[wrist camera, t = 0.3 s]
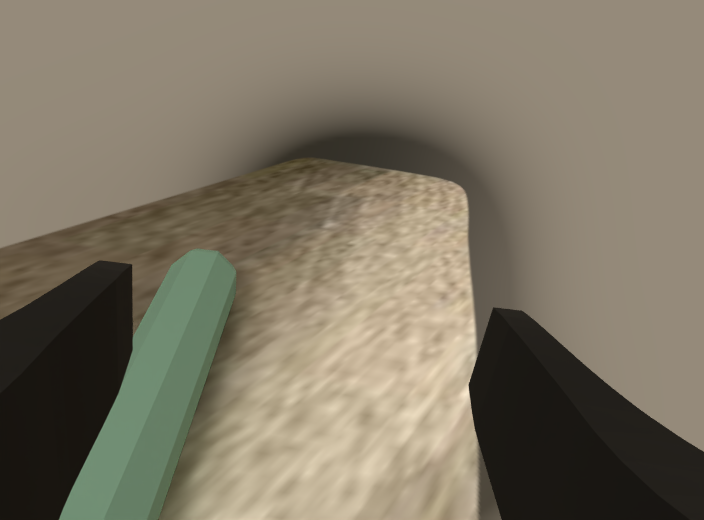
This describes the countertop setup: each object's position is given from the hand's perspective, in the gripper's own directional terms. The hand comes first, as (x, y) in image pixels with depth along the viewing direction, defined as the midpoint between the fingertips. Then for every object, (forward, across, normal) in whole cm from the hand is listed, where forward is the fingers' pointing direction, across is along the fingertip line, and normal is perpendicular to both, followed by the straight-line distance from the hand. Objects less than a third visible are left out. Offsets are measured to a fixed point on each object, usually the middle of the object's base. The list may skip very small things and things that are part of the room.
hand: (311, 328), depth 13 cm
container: (+19, +7, +21) cm, 29 cm away
